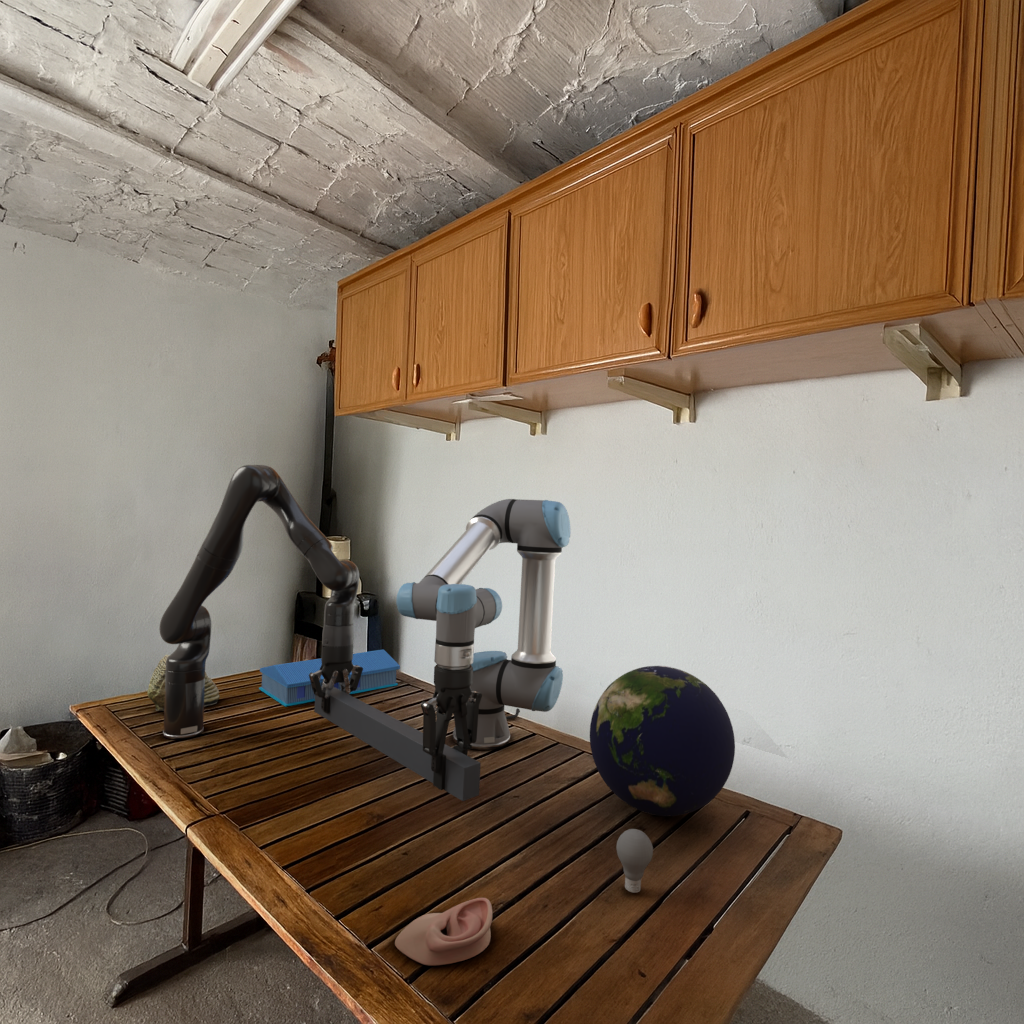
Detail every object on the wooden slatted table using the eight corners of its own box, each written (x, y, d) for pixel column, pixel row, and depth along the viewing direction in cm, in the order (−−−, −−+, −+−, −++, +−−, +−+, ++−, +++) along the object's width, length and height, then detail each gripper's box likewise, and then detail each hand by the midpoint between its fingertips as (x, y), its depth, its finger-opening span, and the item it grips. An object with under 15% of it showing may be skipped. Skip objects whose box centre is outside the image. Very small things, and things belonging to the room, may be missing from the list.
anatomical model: (387, 929, 88) (416, 881, 99) (385, 957, 88) (415, 906, 99) (479, 947, 85) (498, 895, 96) (478, 976, 85) (497, 921, 96)
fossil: (144, 707, 182) (145, 655, 182) (212, 696, 194) (213, 647, 194) (151, 716, 175) (153, 662, 175) (221, 703, 188) (223, 653, 188)
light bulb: (610, 879, 108) (613, 822, 108) (644, 879, 109) (647, 822, 109) (619, 902, 102) (622, 840, 102) (655, 901, 103) (658, 840, 103)
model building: (289, 709, 186) (291, 675, 185) (258, 688, 204) (259, 657, 204) (403, 687, 212) (405, 657, 212) (366, 670, 230) (368, 643, 230)
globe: (569, 823, 127) (576, 674, 126) (605, 767, 154) (610, 645, 154) (726, 862, 115) (734, 698, 115) (734, 794, 143) (741, 662, 143)
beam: (314, 711, 160) (315, 687, 160) (328, 708, 163) (329, 684, 163) (462, 801, 117) (464, 768, 117) (479, 795, 120) (480, 762, 120)
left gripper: (355, 635, 164) (353, 701, 164) (303, 642, 154) (300, 712, 154) (371, 641, 158) (368, 709, 159) (318, 648, 149) (314, 720, 149)
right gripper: (429, 676, 114) (423, 804, 115) (499, 662, 126) (494, 778, 127) (405, 666, 120) (400, 789, 120) (475, 654, 132) (470, 766, 132)
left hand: (334, 710), depth 157 cm, fingers closed on beam, 4 cm apart
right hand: (448, 783), depth 123 cm, fingers closed on beam, 4 cm apart
